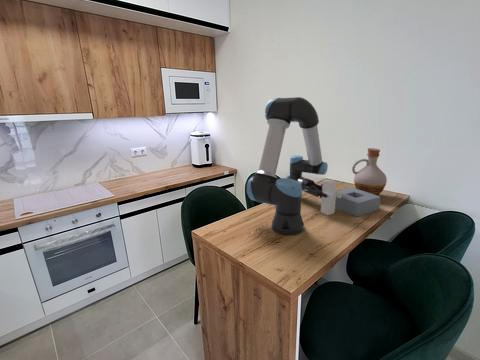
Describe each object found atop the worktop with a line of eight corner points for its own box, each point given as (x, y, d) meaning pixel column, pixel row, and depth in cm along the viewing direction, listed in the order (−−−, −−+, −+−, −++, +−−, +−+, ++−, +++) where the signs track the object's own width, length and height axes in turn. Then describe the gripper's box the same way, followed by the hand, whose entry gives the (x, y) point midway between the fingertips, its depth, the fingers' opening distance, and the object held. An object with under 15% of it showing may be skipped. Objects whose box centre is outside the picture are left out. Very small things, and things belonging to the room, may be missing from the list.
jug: (349, 199, 153) (354, 150, 144) (349, 190, 169) (354, 145, 160) (385, 203, 146) (393, 152, 137) (382, 193, 161) (389, 147, 153)
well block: (356, 216, 130) (357, 203, 128) (329, 205, 145) (330, 192, 143) (378, 209, 138) (380, 196, 135) (351, 199, 153) (352, 187, 151)
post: (327, 215, 132) (330, 182, 127) (320, 211, 137) (322, 180, 131) (334, 213, 135) (337, 181, 129) (327, 210, 139) (329, 179, 134)
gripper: (317, 188, 153) (348, 200, 133) (293, 193, 145) (323, 207, 125) (317, 176, 151) (349, 187, 131) (294, 181, 143) (324, 193, 123)
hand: (336, 196), depth 128 cm, fingers closed on post, 5 cm apart
